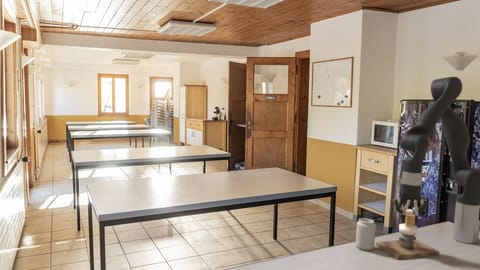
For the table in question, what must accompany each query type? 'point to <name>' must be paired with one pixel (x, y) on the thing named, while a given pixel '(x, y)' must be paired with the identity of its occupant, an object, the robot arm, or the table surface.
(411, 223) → the twist knob
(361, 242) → the can
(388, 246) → the lock base
